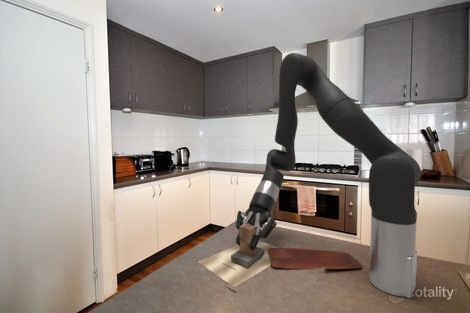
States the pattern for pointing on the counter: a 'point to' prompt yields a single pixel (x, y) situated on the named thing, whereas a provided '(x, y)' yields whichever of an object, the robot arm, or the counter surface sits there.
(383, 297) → the counter surface
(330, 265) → the wooden tablet
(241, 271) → the birch board
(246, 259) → the block
